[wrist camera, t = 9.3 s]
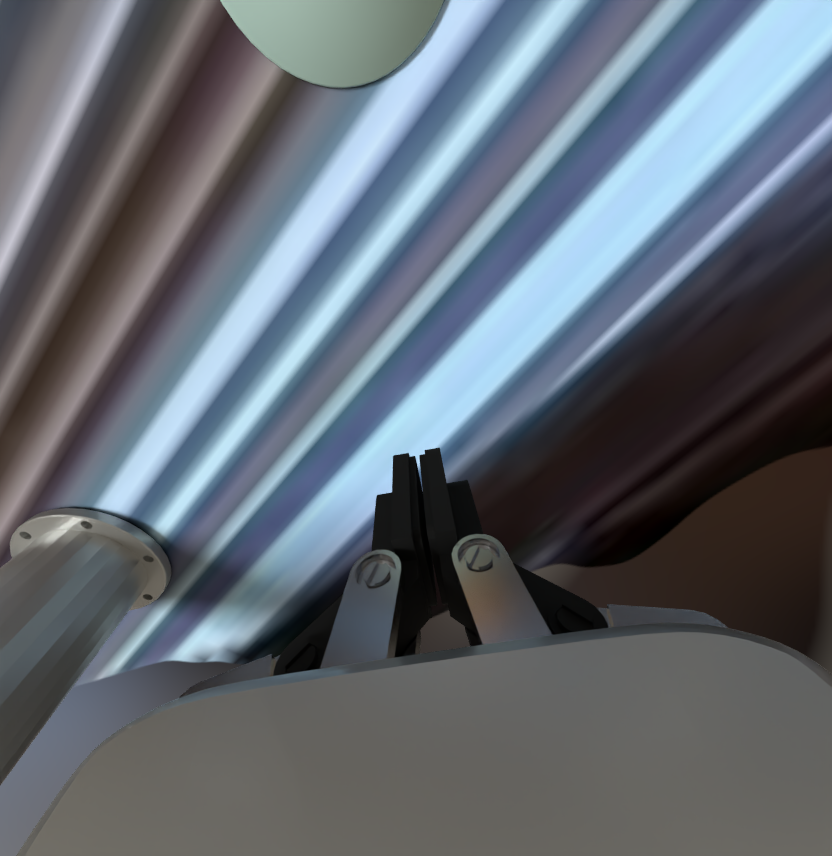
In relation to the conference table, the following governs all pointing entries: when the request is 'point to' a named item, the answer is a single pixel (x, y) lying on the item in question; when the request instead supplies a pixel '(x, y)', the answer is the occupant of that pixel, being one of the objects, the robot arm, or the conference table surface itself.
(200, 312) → the conference table surface
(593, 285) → the conference table surface
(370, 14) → the pale green flat disc
